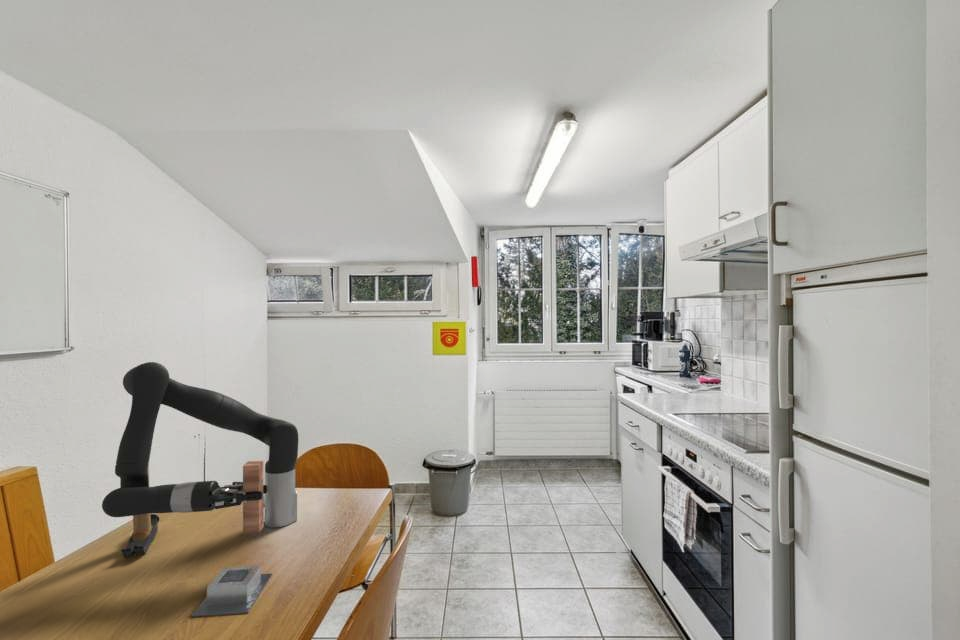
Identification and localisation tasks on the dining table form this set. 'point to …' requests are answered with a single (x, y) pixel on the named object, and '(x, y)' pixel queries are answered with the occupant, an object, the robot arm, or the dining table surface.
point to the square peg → (255, 508)
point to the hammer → (142, 533)
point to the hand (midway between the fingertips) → (264, 492)
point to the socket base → (231, 606)
